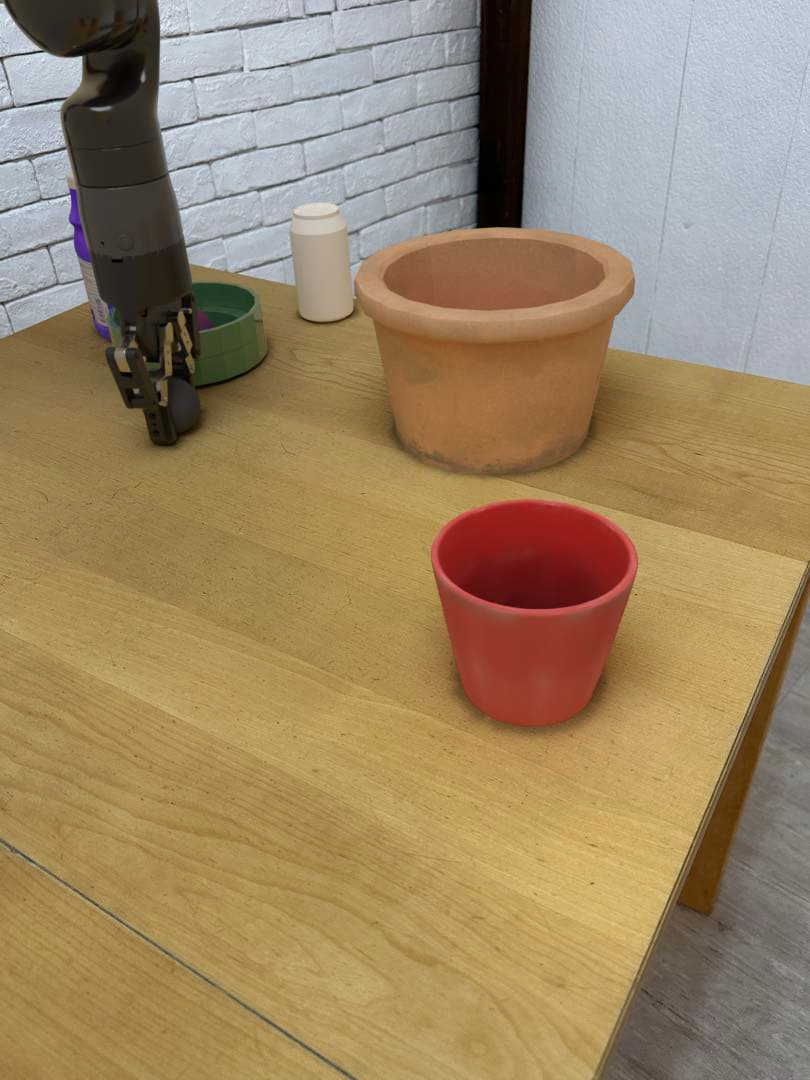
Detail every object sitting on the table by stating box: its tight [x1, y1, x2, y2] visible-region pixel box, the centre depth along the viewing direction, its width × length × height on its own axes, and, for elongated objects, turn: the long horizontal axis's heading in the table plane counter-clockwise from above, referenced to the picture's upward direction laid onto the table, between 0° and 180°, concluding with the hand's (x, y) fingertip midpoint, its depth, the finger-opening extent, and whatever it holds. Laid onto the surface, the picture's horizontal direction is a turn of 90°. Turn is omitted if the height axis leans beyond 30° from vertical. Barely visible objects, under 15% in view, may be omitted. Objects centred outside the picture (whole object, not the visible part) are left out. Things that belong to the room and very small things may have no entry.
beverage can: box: [288, 202, 354, 323], centre depth 99 cm, size 6×6×12 cm
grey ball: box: [142, 377, 201, 435], centre depth 80 cm, size 5×5×5 cm
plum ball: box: [197, 309, 214, 331], centre depth 92 cm, size 5×5×5 cm
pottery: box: [353, 226, 636, 477], centre depth 75 cm, size 22×22×14 cm
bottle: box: [65, 170, 113, 342], centre depth 97 cm, size 7×6×17 cm
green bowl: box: [106, 280, 268, 387], centre depth 93 cm, size 15×15×6 cm
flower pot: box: [430, 498, 639, 728], centre depth 51 cm, size 11×11×10 cm
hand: (175, 426), depth 81 cm, fingers closed on grey ball, 5 cm apart
